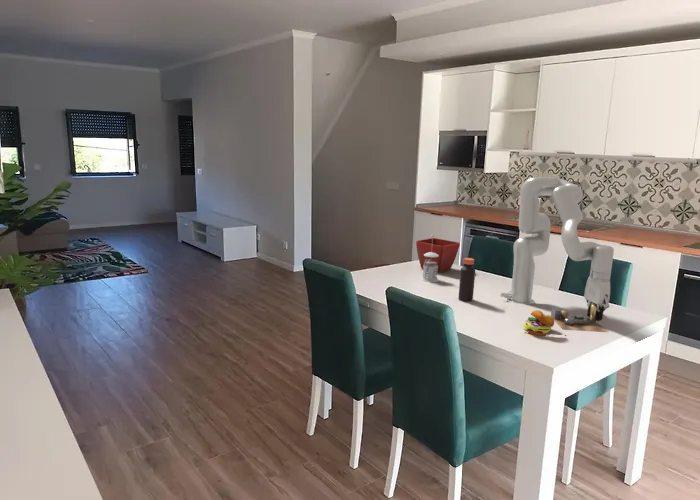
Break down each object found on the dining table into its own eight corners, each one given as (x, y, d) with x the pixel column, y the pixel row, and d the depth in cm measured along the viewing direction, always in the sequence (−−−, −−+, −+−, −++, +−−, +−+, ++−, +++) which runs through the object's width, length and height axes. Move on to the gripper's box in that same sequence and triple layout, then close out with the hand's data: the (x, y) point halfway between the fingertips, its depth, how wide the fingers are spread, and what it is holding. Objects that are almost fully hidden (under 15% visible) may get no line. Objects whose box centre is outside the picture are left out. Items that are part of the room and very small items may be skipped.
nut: (560, 319, 215) (561, 311, 215) (558, 316, 219) (559, 308, 218) (569, 320, 215) (570, 311, 214) (566, 317, 219) (567, 309, 218)
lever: (567, 325, 208) (570, 305, 206) (560, 321, 213) (563, 301, 211) (601, 324, 210) (604, 304, 208) (593, 320, 215) (596, 300, 213)
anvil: (554, 319, 215) (555, 310, 214) (550, 315, 220) (551, 306, 219) (560, 320, 215) (561, 310, 214) (556, 316, 220) (557, 307, 219)
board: (562, 332, 204) (562, 329, 203) (549, 318, 220) (549, 315, 220) (608, 335, 202) (609, 332, 202) (592, 320, 219) (592, 318, 219)
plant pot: (458, 270, 303) (460, 242, 299) (440, 275, 289) (442, 246, 286) (431, 264, 316) (433, 237, 312) (413, 268, 302) (415, 241, 299)
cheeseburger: (517, 327, 207) (525, 304, 205) (540, 333, 208) (549, 311, 207) (527, 336, 197) (536, 312, 195) (552, 342, 198) (561, 319, 197)
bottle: (475, 300, 243) (479, 259, 239) (468, 302, 238) (471, 261, 234) (463, 296, 248) (466, 256, 244) (455, 299, 243) (458, 258, 239)
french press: (441, 279, 280) (444, 234, 275) (433, 283, 270) (436, 237, 265) (425, 276, 285) (428, 232, 280) (416, 280, 275) (419, 235, 270)
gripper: (579, 270, 215) (573, 312, 218) (605, 280, 199) (599, 325, 202) (594, 270, 216) (589, 311, 220) (622, 280, 200) (616, 324, 204)
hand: (594, 317), depth 211 cm, fingers closed on lever, 4 cm apart
